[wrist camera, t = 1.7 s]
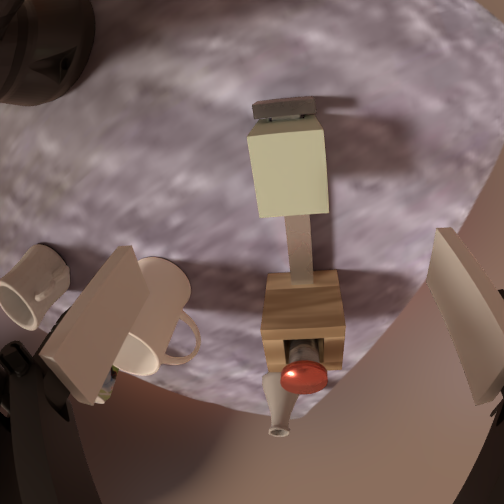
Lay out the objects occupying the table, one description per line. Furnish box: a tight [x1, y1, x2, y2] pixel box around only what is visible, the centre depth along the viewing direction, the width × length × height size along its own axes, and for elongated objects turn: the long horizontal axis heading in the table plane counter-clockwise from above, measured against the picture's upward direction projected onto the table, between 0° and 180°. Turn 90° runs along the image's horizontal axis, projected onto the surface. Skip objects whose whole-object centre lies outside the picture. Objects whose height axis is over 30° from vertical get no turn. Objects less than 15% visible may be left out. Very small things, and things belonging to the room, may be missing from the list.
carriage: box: [247, 114, 329, 218], centre depth 24 cm, size 6×5×8 cm
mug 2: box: [113, 257, 201, 376], centre depth 34 cm, size 12×8×12 cm
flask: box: [262, 372, 299, 437], centre depth 43 cm, size 7×7×10 cm
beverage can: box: [95, 365, 119, 404], centre depth 43 cm, size 6×7×12 cm
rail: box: [252, 96, 316, 285], centre depth 29 cm, size 19×5×4 cm, turn 9°
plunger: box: [280, 338, 328, 394], centre depth 29 cm, size 4×4×7 cm
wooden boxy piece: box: [260, 269, 346, 372], centre depth 33 cm, size 7×8×9 cm
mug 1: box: [0, 244, 70, 330], centre depth 36 cm, size 12×9×10 cm
